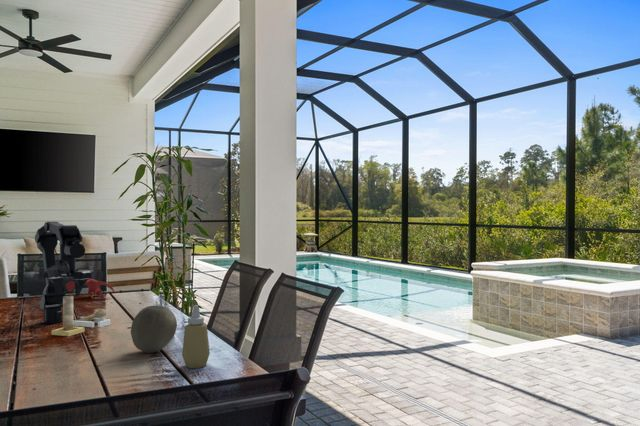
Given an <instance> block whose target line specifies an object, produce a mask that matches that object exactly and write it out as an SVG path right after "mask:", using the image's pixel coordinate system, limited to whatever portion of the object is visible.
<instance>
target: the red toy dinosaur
mask: <svg viewBox="0 0 640 426" xmlns="http://www.w3.org/2000/svg"><path fill="white" fill-rule="evenodd" d="M84 286H87V287H88V290H87V291H88V292H87V295H85V297H86V298H87V299H88V297H89V295H91V294H92V296H91V298H94V296H95V295H96V296H102V294H103V293H104V291H103V290H101V289H100V286H106V287H108V288H109V289H110V290H112V292H113V293H115V290H114V288H113V286H112V285H111V284H109V283H107V282H104V281H101V280H96V279H94V278H89V280H87V281H86V283H85V285H84ZM65 288H66V290H67V291H68V292H73V290H74V289H75V283H74V282H73V280H71V281H69V282H67V283H66V284H65Z"/></svg>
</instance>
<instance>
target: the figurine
mask: <svg viewBox="0 0 640 426" xmlns="http://www.w3.org/2000/svg"><path fill="white" fill-rule="evenodd" d="M106 315H107V311H106V309H104V308H100V309H99V310H97V311H96V312H95V313H93V314H90V315H88V316H80V317H81V318H80V317H77V318H76V319H75V320H76V321H90V322H94V320H92V319H94V318H104V317H106Z"/></svg>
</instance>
